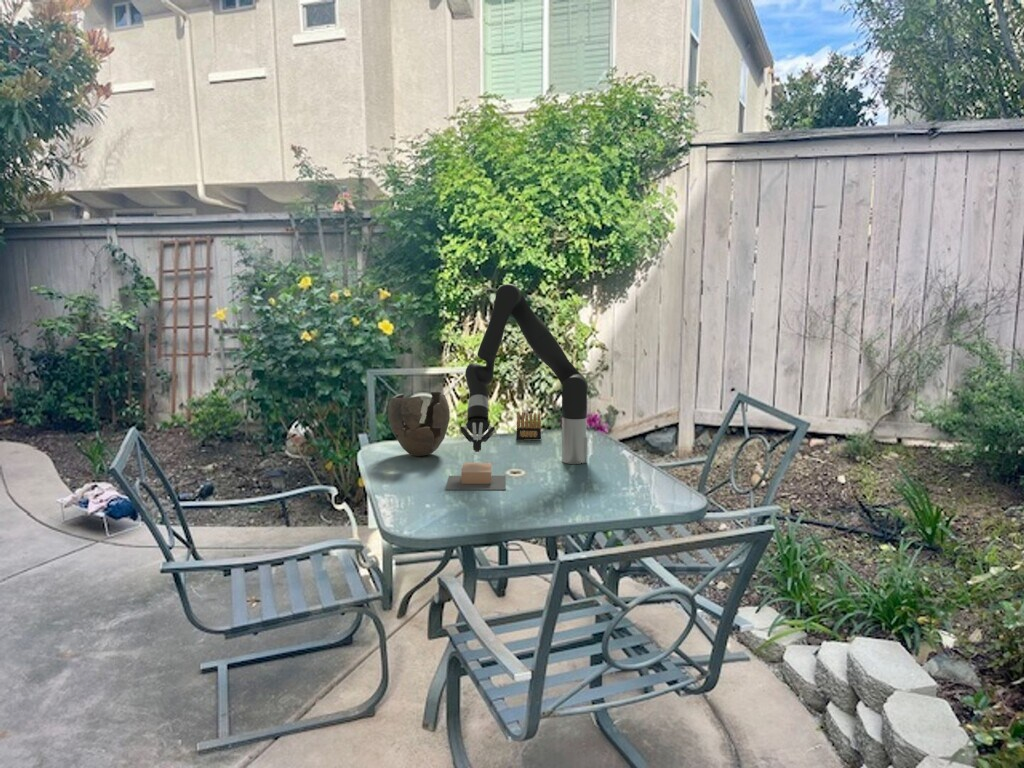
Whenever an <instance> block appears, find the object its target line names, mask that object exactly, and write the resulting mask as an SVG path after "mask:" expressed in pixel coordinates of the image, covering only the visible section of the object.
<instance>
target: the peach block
mask: <svg viewBox="0 0 1024 768" xmlns="http://www.w3.org/2000/svg"><path fill="white" fill-rule="evenodd" d="M461 468H462V469H461V471H460V472H461V473H460V476H461V484H491V476H493V474H492V462H463V463H462V467H461Z"/></svg>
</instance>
